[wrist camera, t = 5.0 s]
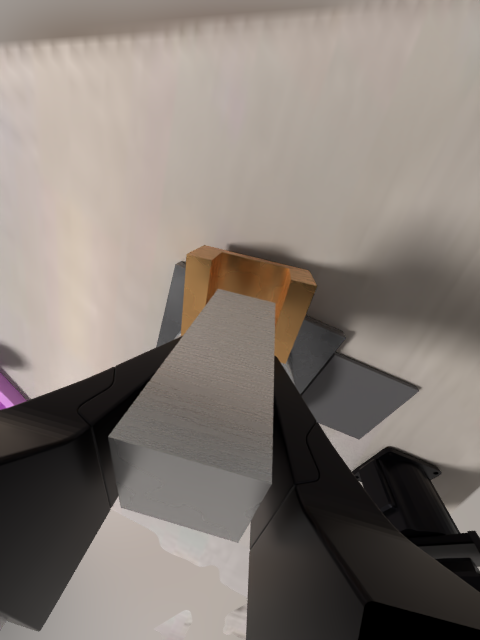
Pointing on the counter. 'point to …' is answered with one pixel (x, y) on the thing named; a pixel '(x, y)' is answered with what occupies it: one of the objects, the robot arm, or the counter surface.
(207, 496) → the gray rectangular block
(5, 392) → the bracket
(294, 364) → the base plate
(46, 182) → the counter surface
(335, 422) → the mat
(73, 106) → the counter surface
